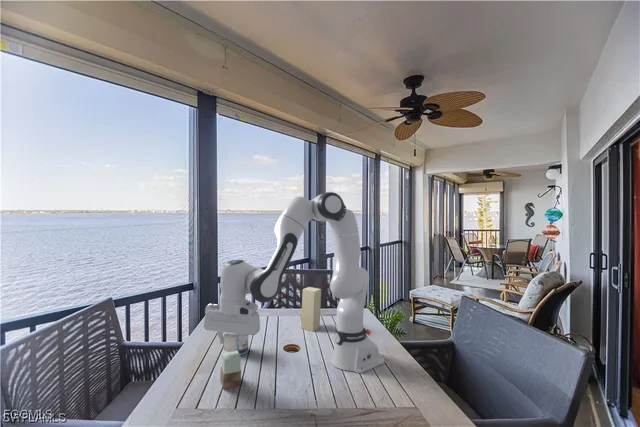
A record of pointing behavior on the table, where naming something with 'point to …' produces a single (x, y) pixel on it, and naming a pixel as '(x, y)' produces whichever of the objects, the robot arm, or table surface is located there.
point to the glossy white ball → (230, 342)
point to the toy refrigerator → (311, 308)
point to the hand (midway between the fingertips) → (231, 344)
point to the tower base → (230, 379)
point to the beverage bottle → (243, 345)
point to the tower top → (231, 362)
